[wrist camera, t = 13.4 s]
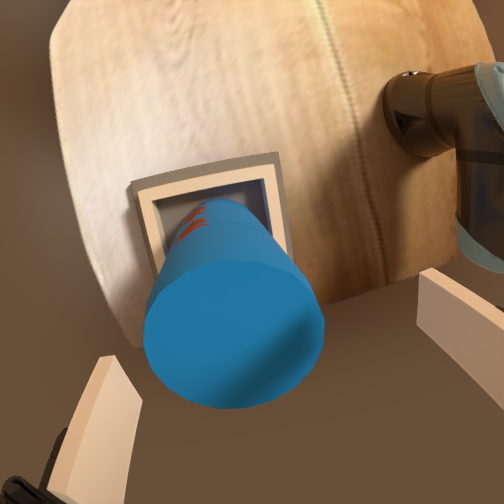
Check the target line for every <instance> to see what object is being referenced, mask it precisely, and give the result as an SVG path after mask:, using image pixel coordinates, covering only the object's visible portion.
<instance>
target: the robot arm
mask: <svg viewBox="0 0 504 504" xmlns="http://www.w3.org/2000/svg"><path fill="white" fill-rule="evenodd" d="M383 108H384V115H385V119H386V122H387V125H388V128H389V130H390V132H391V134H392V135H393V137H394V139H395V140H396V141H397V143H398V144H399V145H400V146H401V147H402V148H403V149H404V150H406V151H407V152H409V153H410V154H413V155H415V156H419V157H435V156H438V155H440V154H442V153H443V152H446V151H448V150H451V149H453V148H455V149H456V168H457V208H456V214H455V219H456V241H457V245H458V247H459V248H460V250H461V251H462V253H463V254H464V255H465V256H466V257H467V258H468V259H470V260H471V261H473V262H474V263H475V264H477V265H479V266H481V267H483V268H485V269H488V270H490V271H493V272H497V273H501V274H502V273H504V63H502V62H492V63H483V62H482V63H477V64H476V65H471V66H467V67H462V68H458V69H454V70H450V71H446V72H442V73H439V74H433V73H427V72H420V71H407V72H404V73H401V74H398V75H396V76H395V77H393V78H392V79H391V80H390V81H389V83H388V85H387V87H386V89H385V92H384V98H383ZM417 326H419V327H420V328H421V329H422V330H423V331H424V332H425V333H426V334H427V335H428V336H430V337H431V338H432V339H433V340H434V341H435V342H436V343H437V344H438V345H439V346H440V347H441V348H442V349H443V350H444V351H445V352H447V353H448V354H449V355H450V356H451V357H452V358H453V359H454V360H455V361H456V362H457V363H458V364H459V365H460V366H461V367H462V368H463V369H464V370H465V371H466V372H467V373H468V374H469V375H470V376H471V377H472V378H473V379H474V380H475V381H476V382H477V383H478V384H479V385H480V386H481V387H482V388H483V389H484V390H485V391H486V392H487V393H488V394H489V395H490V396H491V397H492V398H493V399H494V400H495V401H496V402H497V403H498V405H499V406H500V407H501V408H502V409H503V410H504V308H501V307H498V306H495V307H494V306H493V305H491V304H490V303H488V302H487V301H485V300H484V299H482V298H481V297H479V296H478V295H476V294H474V293H473V292H471V291H469V290H468V289H466V288H465V287H463V286H462V285H460V284H458V283H457V282H455V281H453V280H452V279H450V278H448V277H447V276H445V275H443V274H442V273H440V272H438V271H437V270H435V269H433V268H430V269H427V270H425V271H422V272H420V273H419V295H418V312H417ZM141 405H142V399H141V398H140V396H139V395H138V393H137V392H136V390H135V388H134V387H133V385H132V384H131V382H130V380H129V379H128V377H127V376H126V374H125V372H124V371H123V369H122V367H121V366H120V364H119V362H118V360H117V359H116V357H115V355H112V356H106V357H100V358H99V360H98V363H97V364H96V367H95V369H94V371H93V373H92V375H91V377H90V379H89V382H88V384H87V386H86V388H85V390H84V392H83V395H82V397H81V399H80V402H79V404H78V406H77V409H76V411H75V413H74V416H73V418H72V420H71V423H70V426H69V428H64V430H63V431H62V432H61V433H60V435H59V436H58V437H57V439H56V441H55V444H54V446H53V450H52V452H51V454H50V459H49V460H48V462H47V465H46V468H45V470H44V474H43V476H42V479H41V482H40V485H39V488H38V490H37V489H36V488H35V487H33V486H32V485H31V484H29V483H28V482H27V481H26V480H25V479H23V478H22V477H21V476H13V477H10V478H9V479H8V480H6V482H5V483H4V485H3V487H2V491H1V492H2V494H0V504H123V503H124V496H125V489H126V483H127V476H128V470H129V465H130V459H131V454H132V448H133V442H134V438H135V433H136V428H137V423H138V419H139V414H140V409H141Z"/></svg>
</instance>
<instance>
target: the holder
mask: <svg viewBox="0 0 504 504" xmlns="http://www.w3.org/2000/svg"><path fill="white" fill-rule="evenodd" d="M131 186H132V191H133V196H134V200H135V204H136V209H137V213H138V217H139V221H140V225H141V229H142V233H143V237H144V241H145V245H146V248H147V252H148V256H149V259H150V263H151V266H152V270H153V273H154V277H155V280H157V277H158V275H159V273H160V270H161V268H162V266H163V263H164V261H165V259H166V257H167V254H168V252H169V250H170V248H171V245H172V243H173V241H174V239H175V237H176V235H177V232H178V230H179V228H180V227H181V225H182V223H183V222H184V220H185V218H186V217H187V215H188V214H189V213H190V212H191V211H192V210H193V209H194V208H196V207H197V206H198V205H199V204H201V203H202V202H205V201H209V200H212V199H215V198H216V199H230V200H232V201H235V202H237V203H239V204H242V205H243V206H244V207H246V208H247V209H248V210H249V211H250V212H251V213H252V214H253V215H254V216H255V217H256V218H257V219H258V220H259V221H260V222H261V224H262V225H263V226H264V227H265V228H266V230H267V231H268V232H269V233H270V234H271V236H272V237H273V238H274V239H275V240H276V242H277V243H278V244H279V245H280V246H281V248H282V249H283V250H284V251H285V253H286V254H287V255H288V256H289V257H290V259H291V260H292V261H293V262H294V257H293V249H292V242H291V234H290V227H289V219H288V212H287V205H286V198H285V191H284V185H283V178H282V172H281V165H280V159H279V153H278V152H271V153H264V154H258V155H251V156H245V157H239V158H234V159H228V160H223V161H217V162H212V163H207V164H202V165H197V166H193V167H188V168H183V169H179V170H175V171H170V172H166V173H162V174H158V175H154V176H150V177H146V178H142V179H138V180H134V181H131Z"/></svg>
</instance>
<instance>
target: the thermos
mask: <svg viewBox="0 0 504 504" xmlns="http://www.w3.org/2000/svg"><path fill="white" fill-rule="evenodd" d="M324 322H325V320H324V317H323V314H322V312H321V309H320V307H319V305H318V302H317V300H316V297H315V295H314V293H313V291H312V288H311V286H310V284H309V282H308V280H307V278H306V277H305V276H304V275H303V274H302V272H301V271H300V270H299V269H298V267H297V266H296V265H295V264H294V262H293V261H292V260H291V259H290V257H289V256H288V255H287V254H286V253H285V251H284V250H283V249H282V248H281V246H280V245H279V244H278V243H277V242H276V240H275V239H274V238H273V237H272V236H271V234H270V233H269V232H268V231H267V230H266V228H265V227H264V226H263V225H262V224H261V222H260V221H259V220H258V219H257V218H256V217H255V216H254V215H253V214H252V213H251V212H250V211H249V210H248V209H247V208H246V207H244V206H243V205H242V204H239V203H237V202H235V201H232V200H230V199H216V198H215V199H212V200H209V201H205V202H202V203H201V204H199V205H198V206H197V207H196V208H194V209H193V210H192V211H191V212H190V213H189V214H188V215H187V217H186V218H185V220H184V222H183V223H182V225H181V227H180V228H179V230H178V232H177V235H176V237H175V239H174V241H173V243H172V245H171V248H170V250H169V252H168V254H167V257H166V259H165V261H164V263H163V266H162V268H161V270H160V273H159V275H158V277H157V280H156V282H155V284H154V287H153V289H152V291H151V294H150V296H149V299H148V301H147V307H146V315H145V324H144V336H143V347H144V350H145V353H146V355H147V358H148V361H149V364H150V366H151V369H152V371H153V372H154V373H155V374H156V375H157V376H158V377H159V378H160V380H161V381H162V382H163V383H164V384H165V385H166V386H167V387H168V389H170V390H171V391H173V392H175V393H177V394H178V395H180V396H182V397H184V398H185V399H187V400H189V401H191V402H193V403H197V404H201V405H205V406H210V407H214V408H218V409H226V408H227V409H229V408H248V407H252V406H255V405H259V404H263V403H266V402H269V401H273V400H274V399H276V398H278V397H280V396H281V395H283V394H285V393H286V392H288V391H290V390H291V389H293V388H294V387H296V386H297V385H298V384H299V383H300V382H301V381H302V380H303V379H304V377H305V376H306V375H307V374H308V373H309V372H310V371H311V370H312V369H313V367H314V365H315V363H316V361H317V359H318V356H319V354H320V352H321V350H322V347H323V345H324V324H325V323H324Z"/></svg>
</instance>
